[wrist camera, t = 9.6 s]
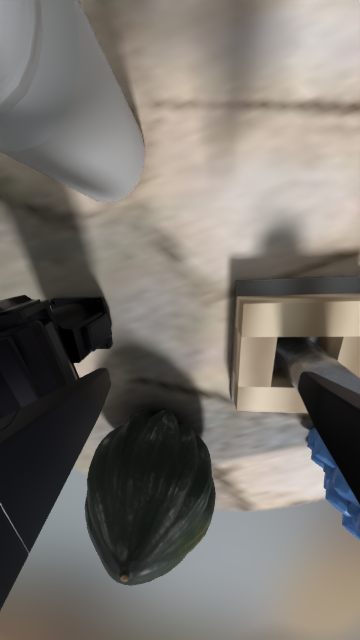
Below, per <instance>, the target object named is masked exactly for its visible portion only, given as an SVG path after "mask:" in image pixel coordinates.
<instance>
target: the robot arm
mask: <svg viewBox="0 0 360 640" xmlns="http://www.w3.org/2000/svg"><path fill="white" fill-rule="evenodd" d="M98 300H100V301H101V303H99V302H98ZM54 301H55V302H56V304H55V302H54ZM50 305H51V308H52V310H51V309H50ZM111 335H112V332H111V326H110V321H109V316H108V315H107V311H106V306H105V301H104V299H103V298H102V297H75V298H54V299H51V300H50V303H49V300H43V301H40V299H38V300H32V299H31V298H29V297H27V296H26V295H22V296H17V297H13V298H8V299H4V300H0V610H1V608H2V606H3V604H4V602H5V600H6V598H7V596H8V594H9V592H10V590H11V589H12V587H13V585H14V583H15V581H16V579H17V577H18V575H19V573H20V571H21V569H22V567H23V565H24V563H25V561H26V559H27V557H28V553H30V551H31V548H32V547H33V545H34V543H35V541H36V539H37V537H38V535H39V533H40V531H41V529H42V527H43V525H44V523H45V521H46V519H47V517H48V515H49V513H50V511H51V510H52V508H53V506H54V504H55V502H56V500H57V498H58V496H59V494H60V492H61V490H62V488H63V486H64V484H65V482H66V480H67V478H68V476H69V474H70V472H71V470H72V468H73V466H74V464H75V462H76V461H77V459H78V457H79V455H80V453H81V451H82V449H83V447H84V445H85V443H86V441H87V439H88V437H89V435H90V433H91V431H92V429H93V427H94V425H95V423H96V421H97V419H98V417H99V415H100V412H101V410H102V407H103V405H104V402H105V400H106V397H107V394H108V392H109V389H110V386H111V381H110V376H109V371H108V369H106V368H99V369H97V370H95V371H93V372H91V373H89V374H87V375H85V376H83V377H81V378H79V376H78V373H77V371H76V368H75V366H74V363H80V362H81V361H82V360H83V359H84V358H85V357H86V356H87V355H89V354H90V353H91V352H92V351H95V350H96V349H110V348H111V347H112V345H113V343H112V338H111ZM107 343H108V344H109V345H107ZM298 392H299V394H300V397H301V399H302V401H303V403H304V405H305V408H306V410H307V412H308V414H309V416H310V419H311V421H312V423H313V425H314V427H315V428H316V430H317V432H318V434H319V435H320V437H321V439H322V441H323V442H324V444H325V446H326V448H327V449H328V451H329V453H330V454H331V456H332V458H333V460H334V461H335V463H336V465H337V467H338V468H339V470H340V472H341V473H342V475H343V477H344V479H345V480H346V482H347V484H348V486H349V487H350V489H351V491H352V492H353V494H354V496H355V498H356V499H357V501H358V503H359V505H360V394H358V393H356V392H354V391H352V390H350V389H348V388H346V387H344V386H341V385H339V384H337V383H335V382H333V381H331V380H329V379H327V378H325V377H322V376H320V375H318V374H316V373H314V372H306V371H303V372H301V374H300V378H299V383H298Z"/></svg>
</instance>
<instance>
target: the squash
mask: <svg viewBox="0 0 360 640" xmlns="http://www.w3.org/2000/svg"><path fill="white" fill-rule="evenodd" d="M87 487H88V490H87V497H86V502H85V516H86V522H87V529H88V533H89V536H90V538H91V540H92V543H93V545H94V547H95V550H96V552H97V553H98V555H99V557H100V559H101V561H102V564H103V565H104V567H105V569H106V570H107V572H108V574H109V575H110V576H111V577H112V578H113V579H114V580H115V581H116V582H118V583H121V584H124V585H137V584H142V583H146V582H149V581H152V580H154V579H155V578H158V577H160V576H163V575H164V574H166V573H168V572H169V571H171V570H172V569H173V568H174V567H175V566H177V565H178V564H179V563H180V562H181V561H182V560H183V559H184V557H185V556H186V555H187V553H189V552H190V551H191V550H192V549H194V547H195V546H196V545H197V544H198V543H199V542H200V541H201V539H202V538H203V537H204V536H205V534H206V532H207V530H208V527H209V525H210V523H211V519H212V514H213V511H214V506H215V495H216V493H215V486H214V482H213V478H212V470H211V459H210V454H209V451H208V448H207V446H206V444H205V443H204V442H203V440H202V439H201V438H199V437H198V436H197V435H195V433H194V431H193V429H192V428H191V427H190V426H188V425H186V424H178V422H177V419H176V418H175V416H174V415H173V413H172V412H170V411H169V410H162V411H160V412H158V413H156V414H155V415H154V414H153V413H151V412H149V411H140V412H137V413H135V414H133V415H132V416H131V417H130V418H129V419H128V420H127V421H126V422H125V423H124V425H122V426H120V427H118V428H116V429H115V430H113V431H111V432H110V433H109V434H108V435H107V436H106V437H105V438H104V439H103V440H102V441H101V442H100V444H99V445H98V447H97V449H96V451H95V454H94V456H93V459H92V462H91V464H90V467H89V472H88V478H87Z"/></svg>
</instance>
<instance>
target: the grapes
mask: <svg viewBox="0 0 360 640" xmlns="http://www.w3.org/2000/svg"><path fill="white" fill-rule="evenodd" d="M307 446H308V447H309V448H310V449H311V450H312V455H311V459H312V460H313V461H314V462H315V463H316V464H318V465H319V466H320V467H322V468H323V471H324V472H325V476H324V488H325V489H326V499H327V500H328V501H329V502H330V503H331V504H332V505H333V506H334V507H335V508H337V509H338V510H339V511H340V512H342V513H343V514H342V525H343V526H344V527H345V528H346V529H347V530H348V531H349V532H350V533H352V534H353V535H354V536H355V537H356V538H358V539H359V540H360V505H359V503H358V501H357V499H356V498H355V496H354V494H353V492H352V491H351V489H350V487H349V486H348V484H347V482H346V480H345V479H344V477H343V475H342V473H341V472H340V470H339V468H338V467H337V465H336V463H335V461H334V460H333V458H332V456H331V454H330V453H329V451H328V449H327V448H326V446H325V444H324V442H323V441H322V439H321V437H320V435H319V434H318V432H317V430H316V428H313V429H311V431H310V433H309V435H308V445H307Z"/></svg>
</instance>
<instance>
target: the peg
mask: <svg viewBox="0 0 360 640" xmlns="http://www.w3.org/2000/svg"><path fill="white" fill-rule="evenodd" d="M275 361H276V362H277V364H278V365H279V366H280V368H281V369H282V371H283V372H284V373H285V375H286V376H287V378H288V379H289V380H290V382H291V383H292V385H293V386H294V387H295V389H296V390H297V392H298V383H299V378H300V374H301V372H303V371H306V372H314V373H316V374H318V375H320V376H322V377H325V378H327V379H329V380H331V381H333V382H335V383H337V384H339V385H341V386H344V387H346V388H348V389H350V390H352V391H354V392H356V393H358V394H360V378H359V377H358V376H356V375H355V374H354V373H353V372H351V371H350V370H349V369H347V368H346V367H345V366H343V365H342V364H341V363H340V362H338V361H337V360H336V359H334V358H333V357H332V356H331V355H329V354H328V353H327V352H325V351H324V350H323V349H322V348H320V347H319V346H318V345H316V344H315V343H314V342H312V341H311V340H310V339H309V338H307V337H277V344H276V351H275ZM298 393H299V392H298Z"/></svg>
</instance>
